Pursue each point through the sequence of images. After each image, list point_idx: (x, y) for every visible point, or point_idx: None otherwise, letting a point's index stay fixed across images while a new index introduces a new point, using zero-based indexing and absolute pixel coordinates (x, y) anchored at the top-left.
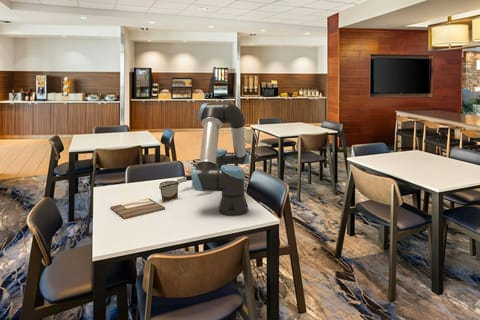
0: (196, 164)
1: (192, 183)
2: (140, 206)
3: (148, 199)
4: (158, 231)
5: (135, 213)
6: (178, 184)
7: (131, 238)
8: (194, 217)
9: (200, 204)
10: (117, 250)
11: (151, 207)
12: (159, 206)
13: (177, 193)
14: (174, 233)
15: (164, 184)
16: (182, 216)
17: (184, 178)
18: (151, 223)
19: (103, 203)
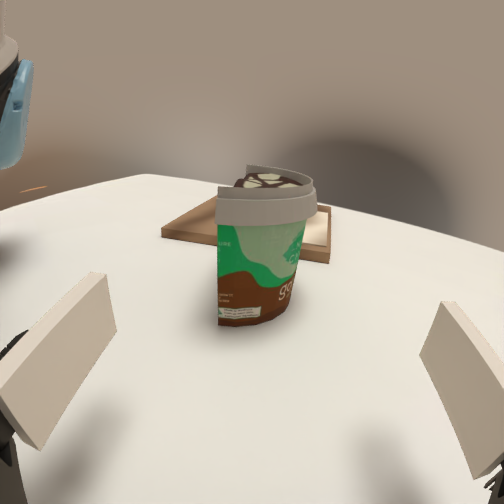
0: (16, 44)
1: (27, 121)
2: None
3: (314, 246)
4: (97, 196)
5: (214, 200)
6: (221, 222)
7: (132, 184)
8: (31, 232)
9: (20, 298)
10: (128, 177)
11: (210, 219)
12: (189, 226)
13: (219, 289)
14: (62, 199)
15: (276, 183)
16: (69, 227)
17: (494, 404)
18: (135, 202)
19: (393, 224)
